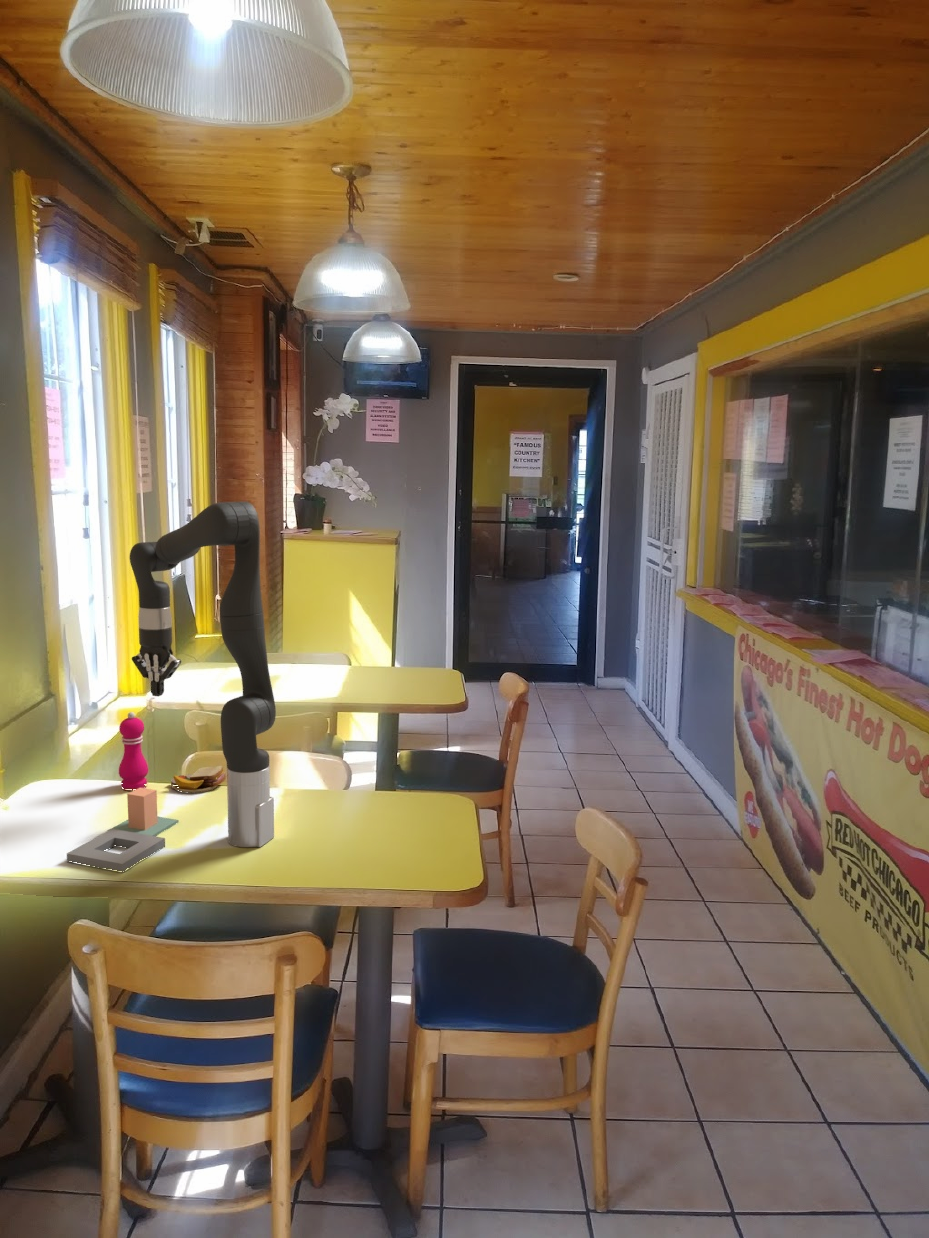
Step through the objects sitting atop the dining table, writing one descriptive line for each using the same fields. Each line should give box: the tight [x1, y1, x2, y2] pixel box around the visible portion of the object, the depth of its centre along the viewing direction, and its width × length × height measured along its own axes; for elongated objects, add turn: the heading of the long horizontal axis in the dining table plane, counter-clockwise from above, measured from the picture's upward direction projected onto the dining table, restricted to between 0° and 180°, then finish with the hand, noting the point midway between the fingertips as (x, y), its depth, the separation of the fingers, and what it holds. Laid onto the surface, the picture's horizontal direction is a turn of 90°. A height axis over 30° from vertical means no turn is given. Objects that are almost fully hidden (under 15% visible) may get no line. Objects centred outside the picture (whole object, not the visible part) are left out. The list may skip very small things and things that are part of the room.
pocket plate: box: [66, 828, 166, 872], centre depth 196 cm, size 14×14×2 cm
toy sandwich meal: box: [170, 765, 227, 794], centre depth 238 cm, size 12×14×5 cm
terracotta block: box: [126, 787, 158, 830], centre depth 210 cm, size 4×4×8 cm
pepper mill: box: [118, 711, 149, 790], centre depth 234 cm, size 7×7×20 cm
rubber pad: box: [107, 815, 179, 837], centre depth 210 cm, size 11×11×1 cm
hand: (157, 695), depth 221 cm, fingers closed
